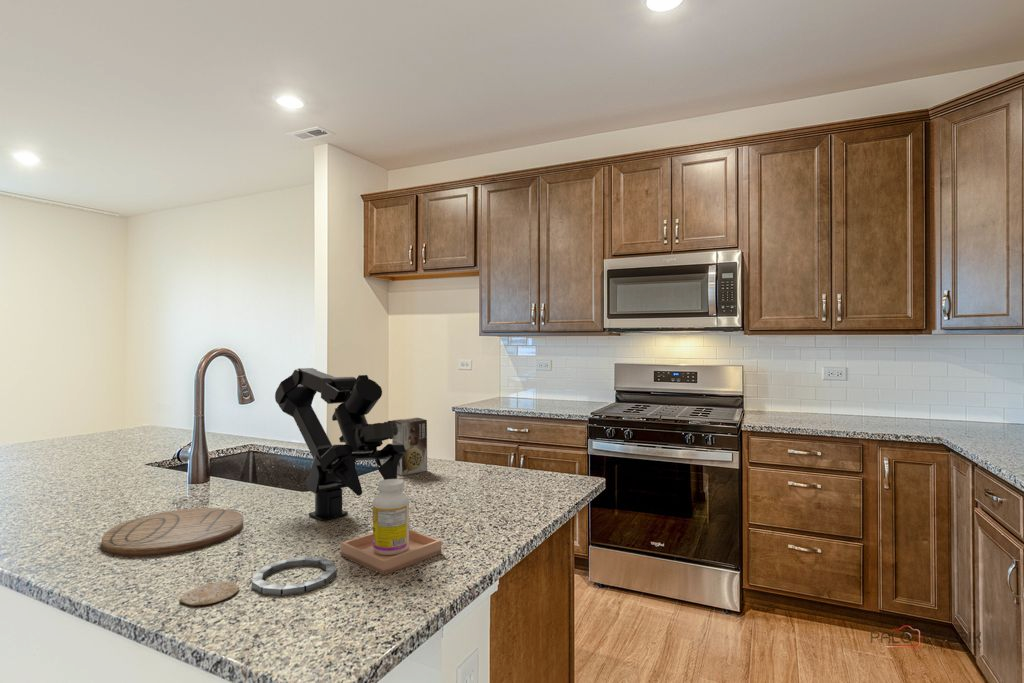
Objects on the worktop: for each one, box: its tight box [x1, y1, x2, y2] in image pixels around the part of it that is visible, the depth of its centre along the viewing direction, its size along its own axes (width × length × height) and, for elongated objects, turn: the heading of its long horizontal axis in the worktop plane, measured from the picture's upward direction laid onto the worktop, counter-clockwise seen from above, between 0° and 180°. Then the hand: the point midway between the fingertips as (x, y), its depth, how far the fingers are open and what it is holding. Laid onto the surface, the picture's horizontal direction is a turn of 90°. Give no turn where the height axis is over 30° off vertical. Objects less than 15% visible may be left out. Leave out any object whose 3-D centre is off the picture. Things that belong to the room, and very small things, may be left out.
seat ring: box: [251, 556, 337, 597], centre depth 93 cm, size 13×13×1 cm
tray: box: [340, 528, 442, 576], centre depth 103 cm, size 13×13×2 cm
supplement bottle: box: [372, 478, 410, 555], centre depth 103 cm, size 7×7×13 cm
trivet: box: [101, 507, 244, 558], centre depth 114 cm, size 25×25×2 cm
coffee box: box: [391, 417, 428, 476], centre depth 170 cm, size 9×6×16 cm
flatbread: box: [179, 581, 240, 607], centre depth 86 cm, size 8×8×1 cm
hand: (378, 492), depth 111 cm, fingers open, 9 cm apart
